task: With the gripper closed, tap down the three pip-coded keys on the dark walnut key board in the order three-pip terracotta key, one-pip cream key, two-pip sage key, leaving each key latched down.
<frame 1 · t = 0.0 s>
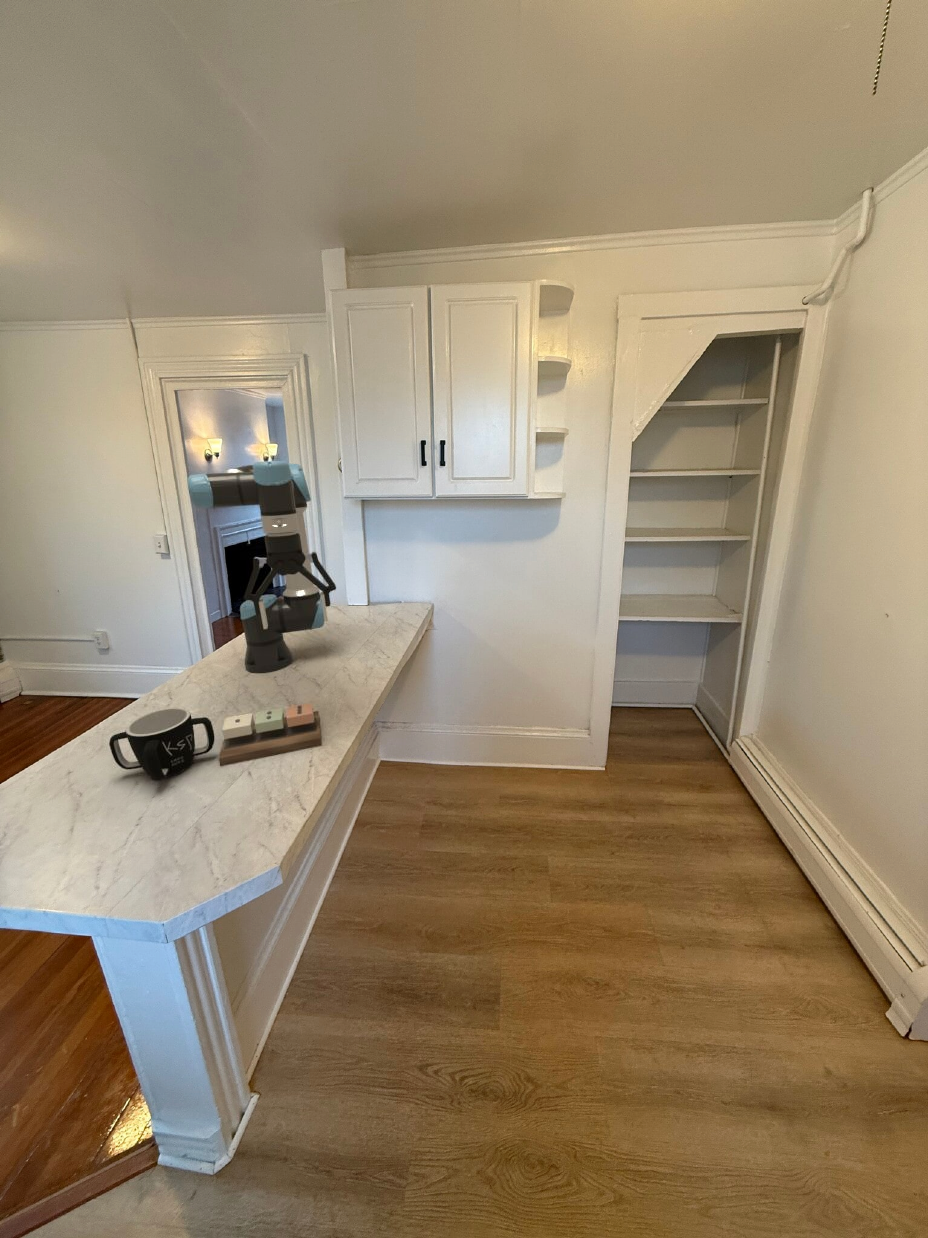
hand: (296, 623, 112), 28 cm above the countertop, fingers open, 13 cm apart
key 3: (300, 714, 116), point 6 cm above the countertop, slide at 0.0 cm
key 1: (238, 725, 112), point 6 cm above the countertop, slide at 0.0 cm
key 2: (269, 719, 114), point 6 cm above the countertop, slide at 0.0 cm
mug: (171, 767, 107), on the countertop
key board: (273, 739, 116), on the countertop
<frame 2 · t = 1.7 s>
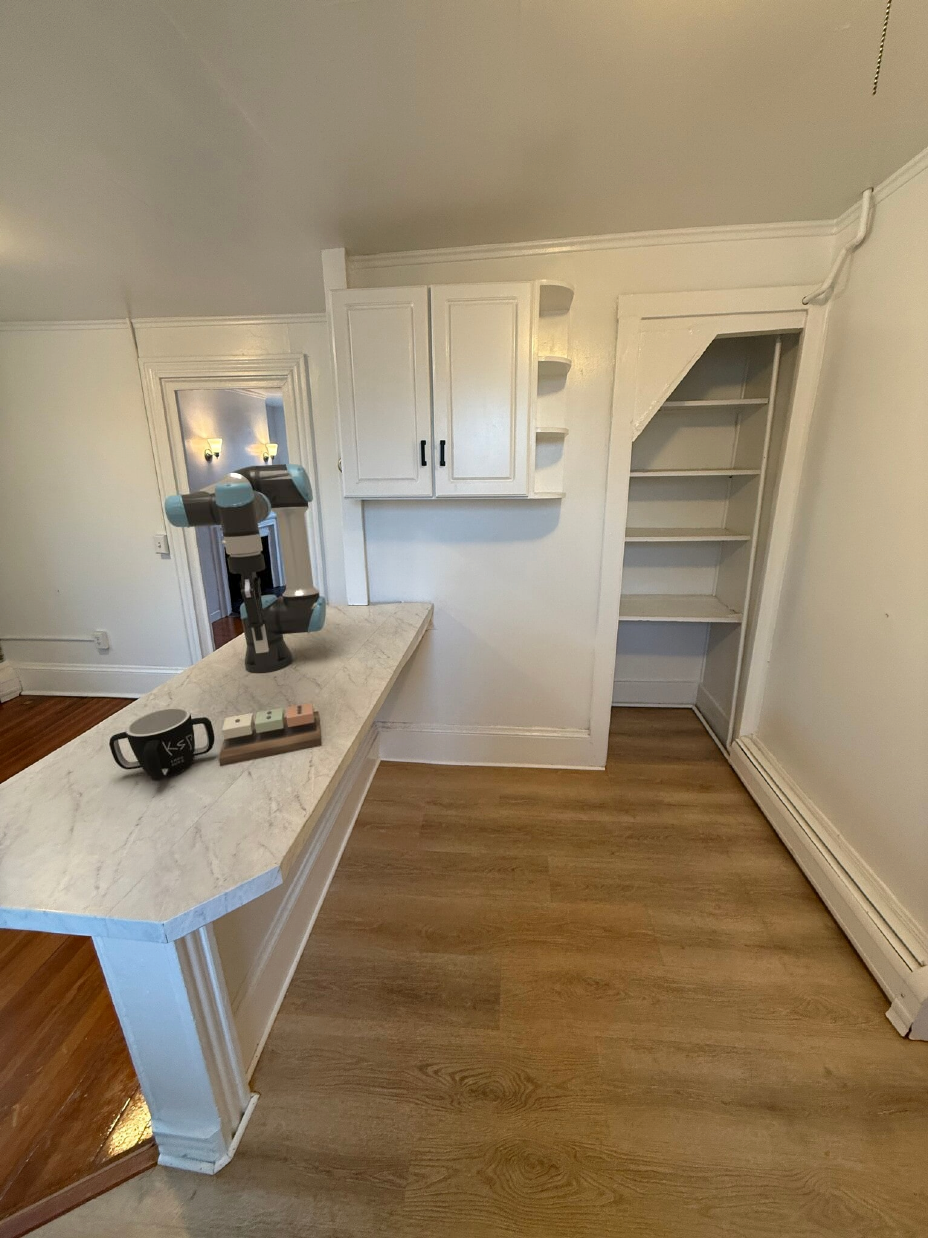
hand: (262, 651, 114), 22 cm above the countertop, fingers closed
nothing on the countertop moved.
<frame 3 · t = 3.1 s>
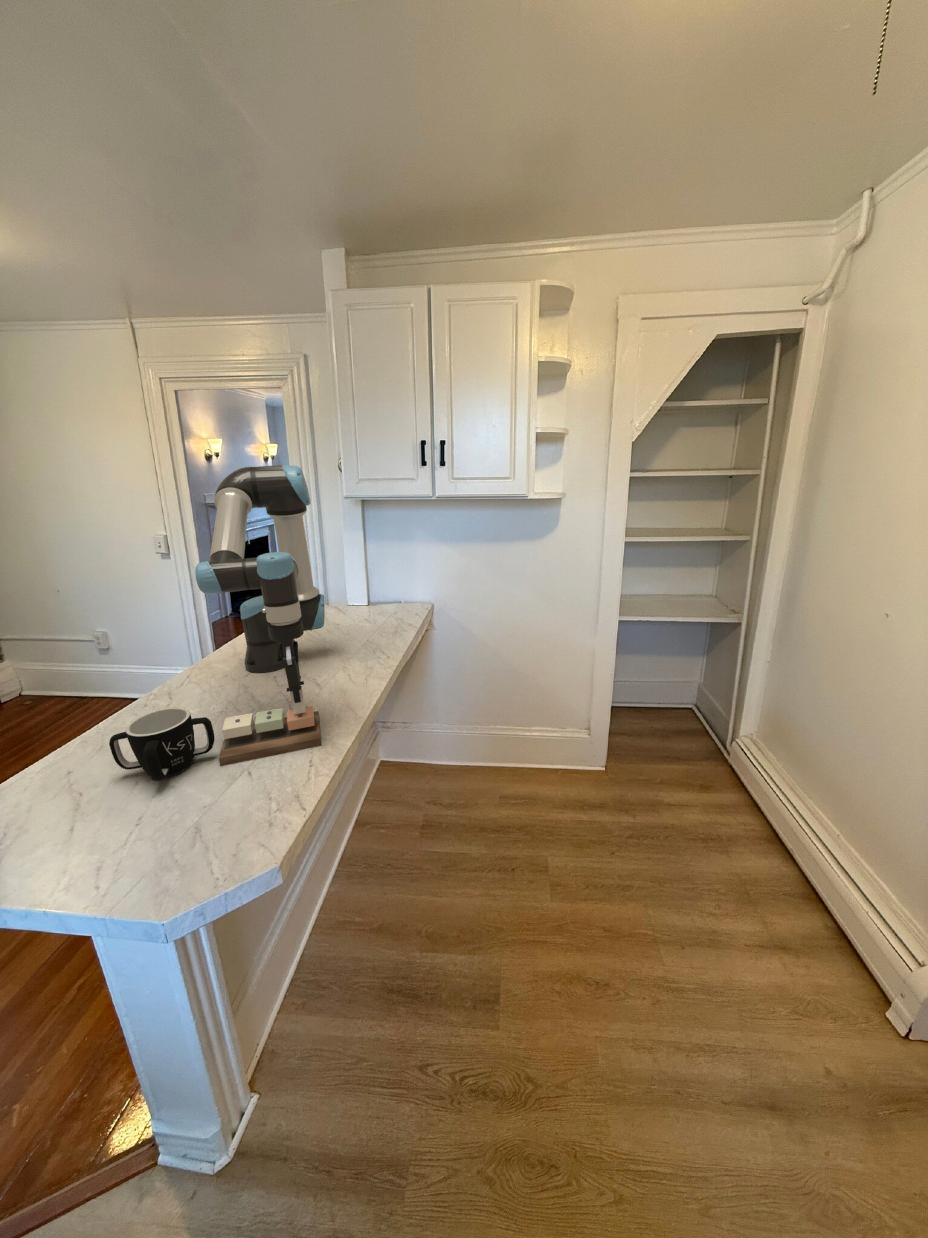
hand: (299, 712, 116), 6 cm above the countertop, fingers closed
key 3: (300, 717, 116), point 5 cm above the countertop, slide at 0.9 cm, touching gripper
everything else where it was.
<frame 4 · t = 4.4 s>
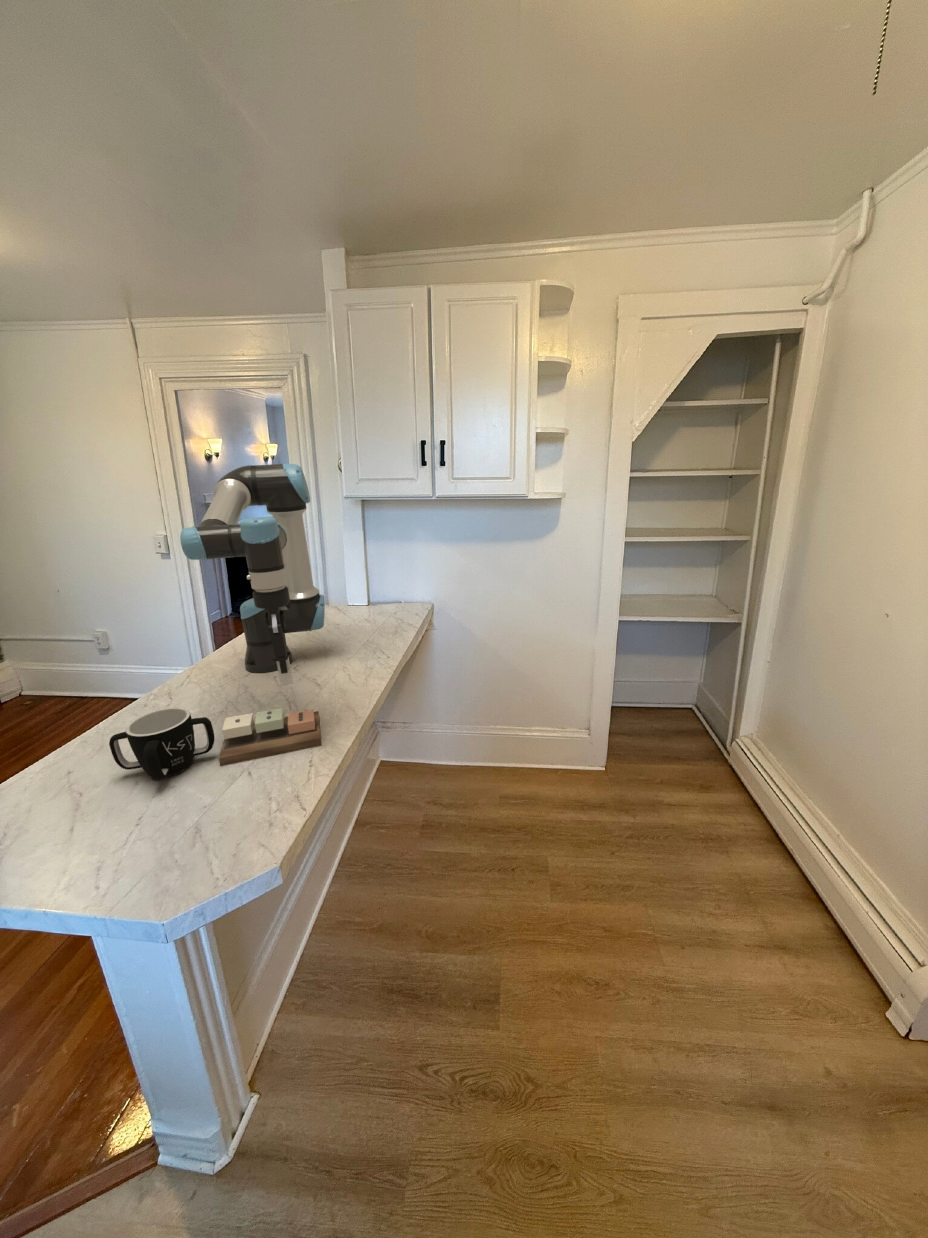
hand: (286, 683, 113), 14 cm above the countertop, fingers closed
key 3: (301, 721, 117), point 4 cm above the countertop, slide at 1.9 cm
everything else where it was.
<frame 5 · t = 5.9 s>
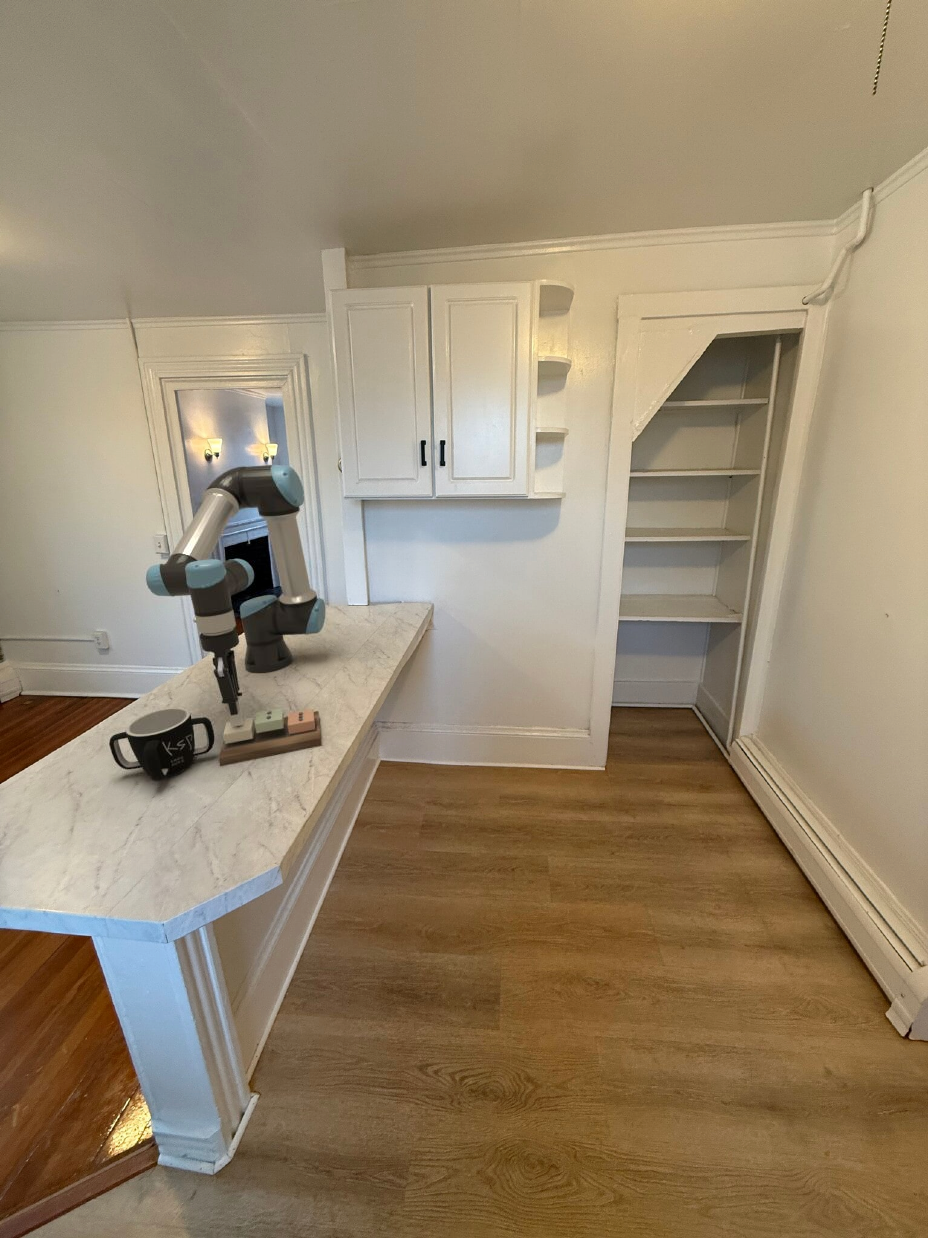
hand: (237, 724, 112), 6 cm above the countertop, fingers closed
key 1: (239, 729, 112), point 4 cm above the countertop, slide at 1.2 cm, touching gripper
everything else where it was.
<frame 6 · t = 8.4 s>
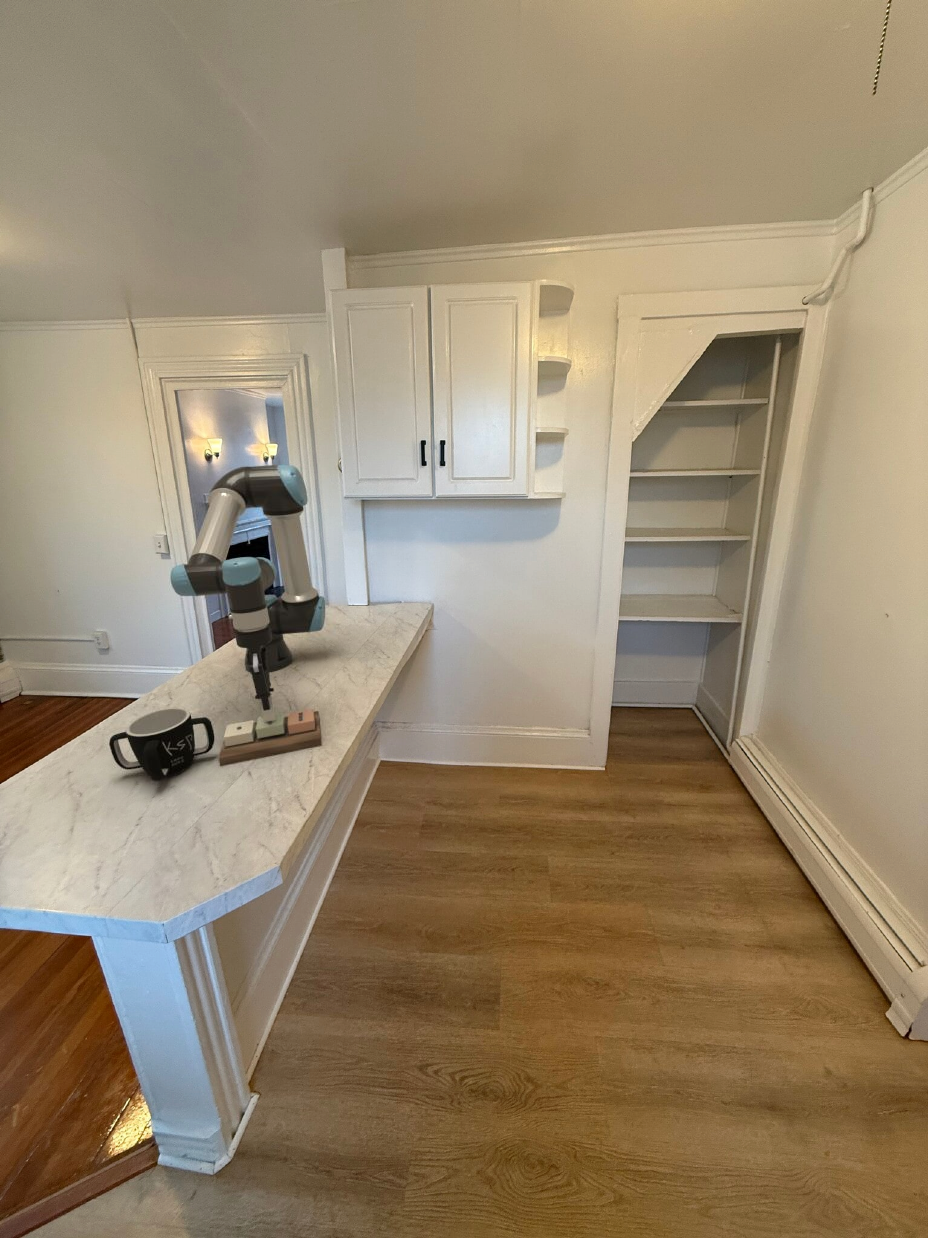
hand: (269, 719, 114), 6 cm above the countertop, fingers closed
key 1: (240, 732, 113), point 4 cm above the countertop, slide at 1.9 cm
key 2: (270, 724, 115), point 4 cm above the countertop, slide at 1.4 cm, touching gripper
everything else where it was.
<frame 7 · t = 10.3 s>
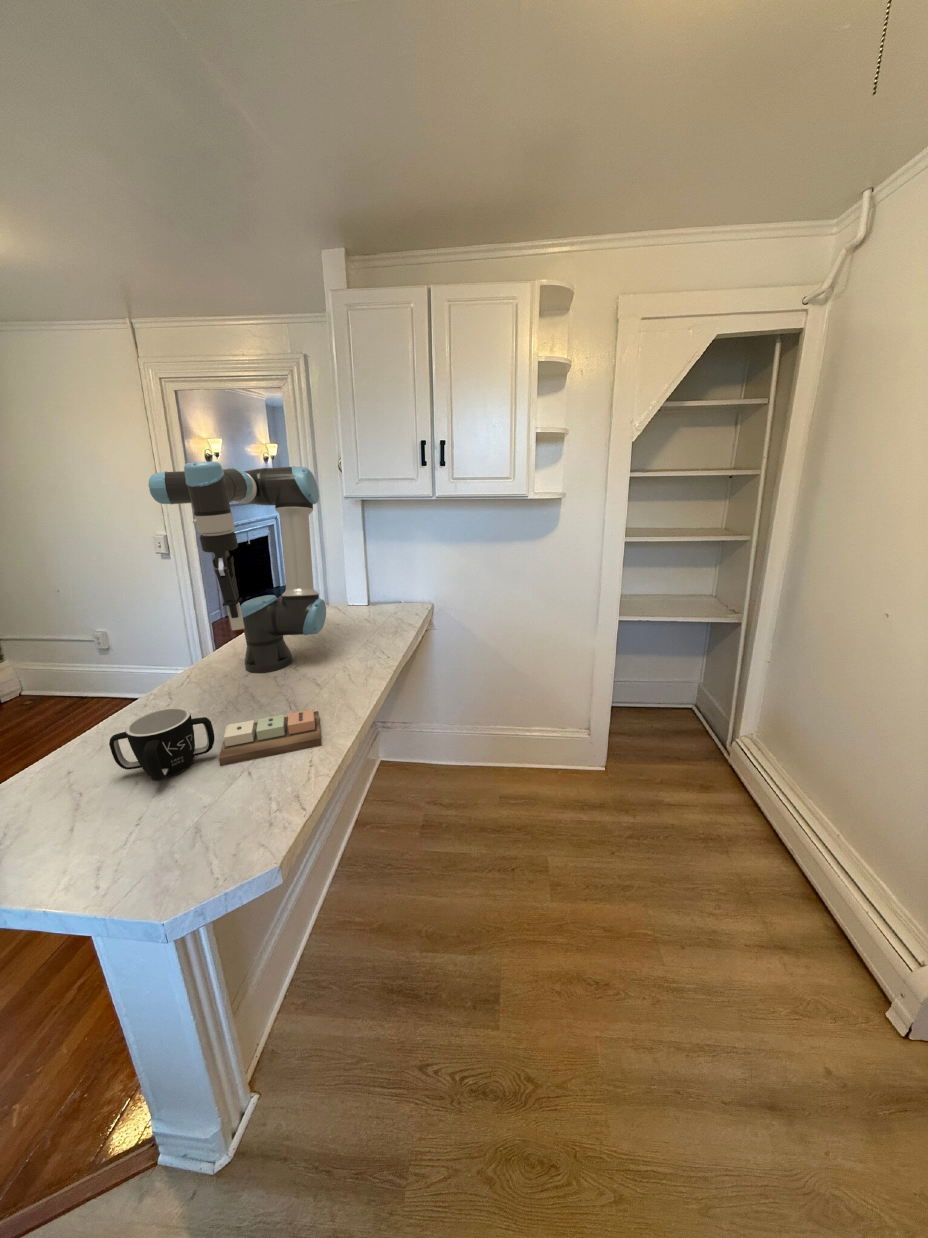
hand: (238, 628, 116), 26 cm above the countertop, fingers closed
key 2: (271, 726, 115), point 4 cm above the countertop, slide at 1.9 cm
everything else where it was.
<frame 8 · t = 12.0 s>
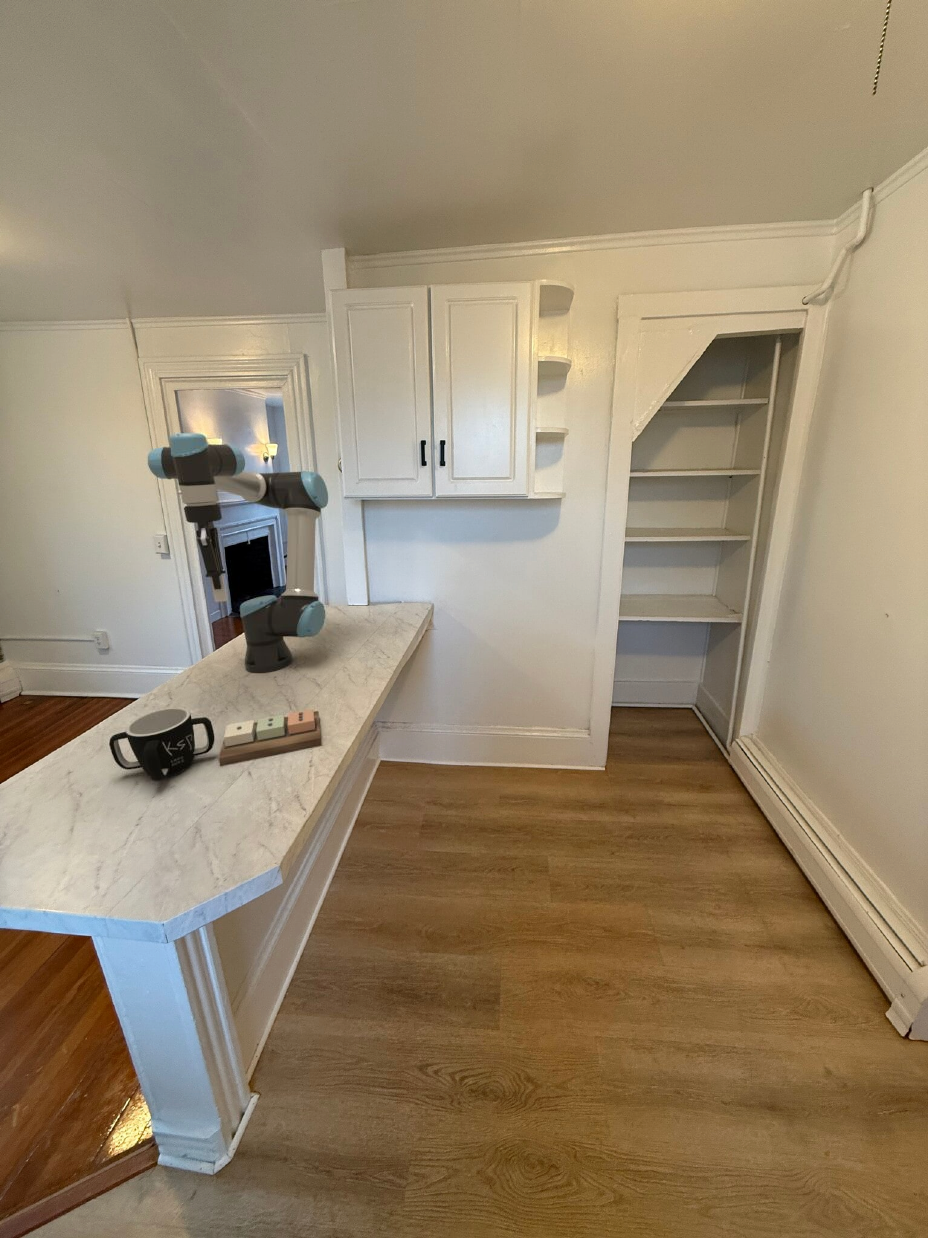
hand: (221, 600, 118), 32 cm above the countertop, fingers closed
nothing on the countertop moved.
at the end: key 3 slide at 1.9 cm; key 1 slide at 1.9 cm; key 2 slide at 1.9 cm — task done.
